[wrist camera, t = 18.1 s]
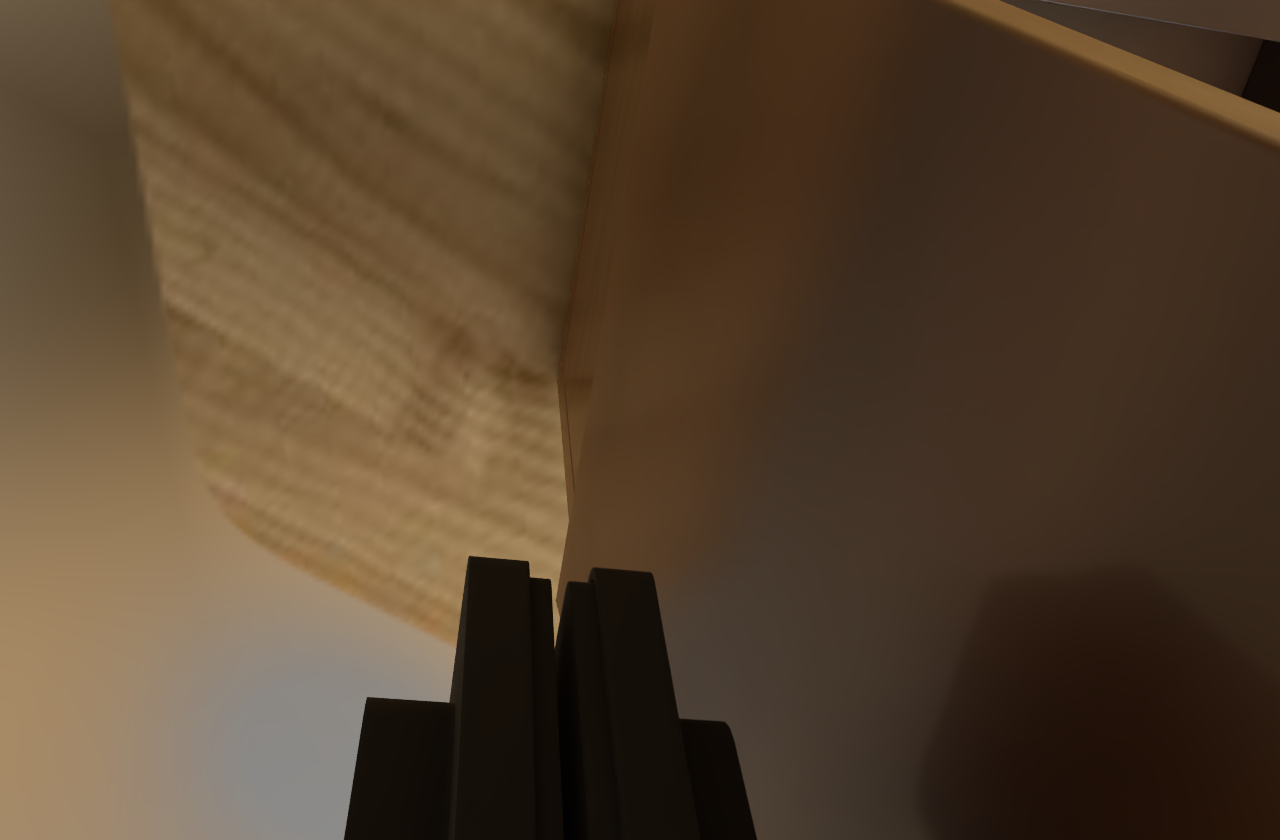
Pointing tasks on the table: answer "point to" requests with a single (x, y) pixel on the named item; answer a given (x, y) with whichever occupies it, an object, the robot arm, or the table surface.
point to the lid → (949, 421)
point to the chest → (1087, 3)
